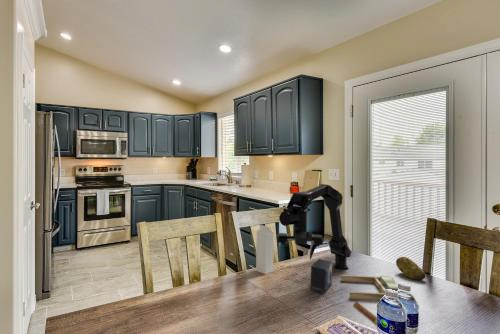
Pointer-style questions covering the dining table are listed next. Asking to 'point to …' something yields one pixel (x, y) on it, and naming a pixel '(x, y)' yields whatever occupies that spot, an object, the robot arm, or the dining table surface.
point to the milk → (264, 250)
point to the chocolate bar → (365, 312)
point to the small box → (321, 276)
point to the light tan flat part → (380, 282)
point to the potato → (410, 268)
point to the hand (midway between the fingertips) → (299, 258)
